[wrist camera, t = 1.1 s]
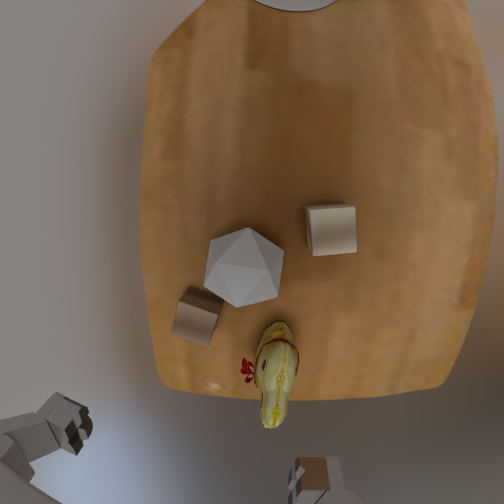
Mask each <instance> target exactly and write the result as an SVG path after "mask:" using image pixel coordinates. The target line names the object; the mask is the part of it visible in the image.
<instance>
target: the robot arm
mask: <svg viewBox="0 0 504 504" xmlns="http://www.w3.org/2000/svg"><path fill="white" fill-rule="evenodd" d="M256 1H258V2H260V3H262V4H264V5H267V6H270V7H273V8H277V9H282V10H289V11H309V10H315V9H320V8H323V7H325V6H327V5H329V4H331V3H332V2H334V1H335V0H256ZM88 414H89V410H88V408H87V407H86V406H84V405H82V404H79V403H77V402H75V401H73V400H71V399H69V398H68V397H66V396H64V395H62V394H60V393H58V392H56V393H54V394H53V395H52V396H51V397H50V398H49V399H48V400H47V401H46V402H45V403H44V404H43V406H42V407H41V408H40V409H39V410H38V411H37V412H36V413H34V412H31V413H28V414H23V415H19V416H15V417H11V418H7V419H3V420H0V504H62V503H60V502H58V501H57V500H55V499H53V498H52V497H50V496H49V495H47V494H45V493H44V492H42V491H41V490H39V489H38V488H36V487H35V486H34V485H32V484H30V483H29V482H30V480H31V479H32V477H33V476H34V474H35V472H34V470H33V468H32V467H31V466H30V464H29V462H31V461H34V460H36V459H38V458H40V457H43V456H45V455H47V454H50V453H52V452H54V451H56V450H58V449H60V448H62V449H64V450H66V451H68V452H70V453H72V454H74V455H78V453H79V452H80V450H81V448H82V447H83V440H86V439H88V438H89V436H90V435H91V432H92V429H93V423H92V420H91V419H90V417H89V416H88ZM288 488H289V489H290V490H291V492H290V494H289V495H288V504H364V503H363V502H361V501H360V500H359V499H358V498H357V497H356V496H355V495H354V494H353V493H352V492H351V491H349V490H348V489H347V490H345V489H344V484H343V479H342V474H341V468H340V463H339V459H338V458H337V457H299V456H298V457H297V458H296V460H295V466H293V467H291V469H290V471H289V475H288Z"/></svg>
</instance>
